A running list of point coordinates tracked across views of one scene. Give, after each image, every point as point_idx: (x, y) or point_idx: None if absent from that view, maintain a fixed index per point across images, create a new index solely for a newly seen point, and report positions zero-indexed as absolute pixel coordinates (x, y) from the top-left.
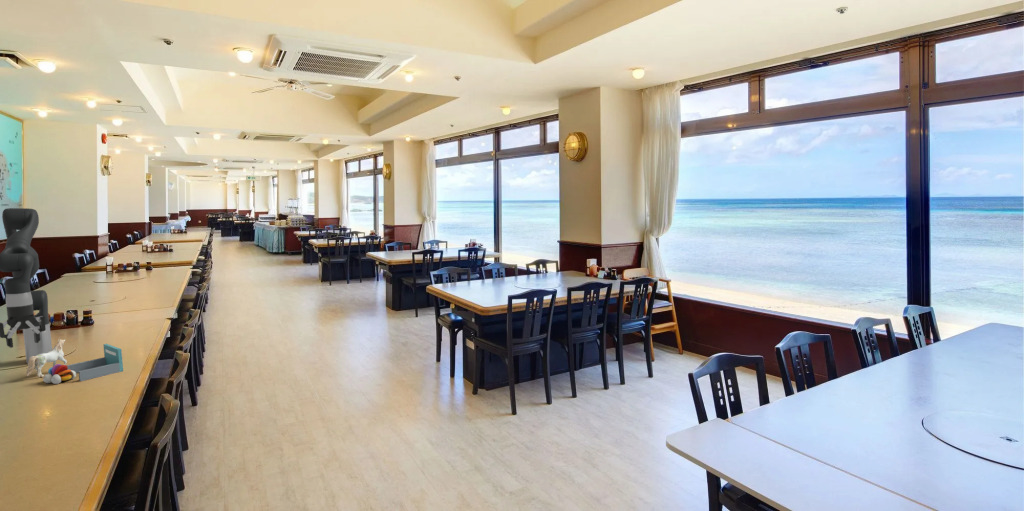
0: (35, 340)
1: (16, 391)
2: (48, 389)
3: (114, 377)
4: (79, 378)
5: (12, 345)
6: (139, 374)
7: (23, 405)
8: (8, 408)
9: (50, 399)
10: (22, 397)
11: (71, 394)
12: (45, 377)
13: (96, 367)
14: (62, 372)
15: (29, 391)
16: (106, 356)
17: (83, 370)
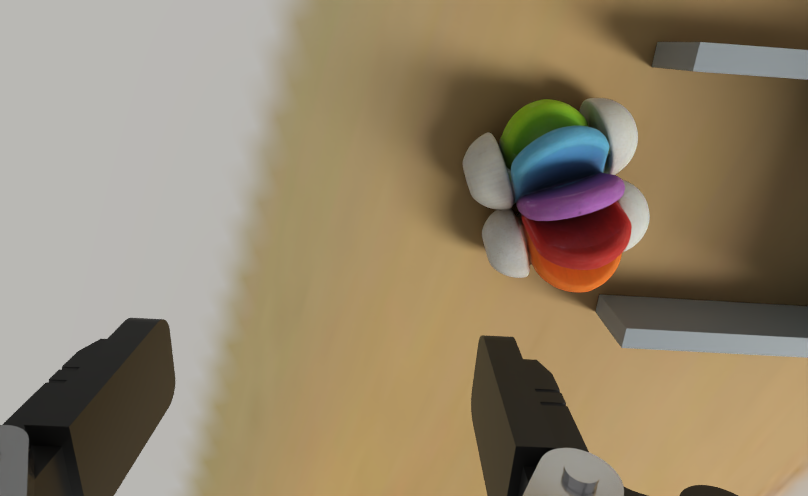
0: (479, 407)
1: (298, 171)
2: (424, 307)
3: (719, 403)
4: (604, 308)
5: (153, 420)
6: (802, 463)
7: (254, 463)
8: (197, 450)
9: (361, 480)
10: (287, 333)
11: (448, 488)
12: (472, 191)
13: (738, 335)
14: (553, 284)
15: (347, 248)
16: None
17: (656, 331)
